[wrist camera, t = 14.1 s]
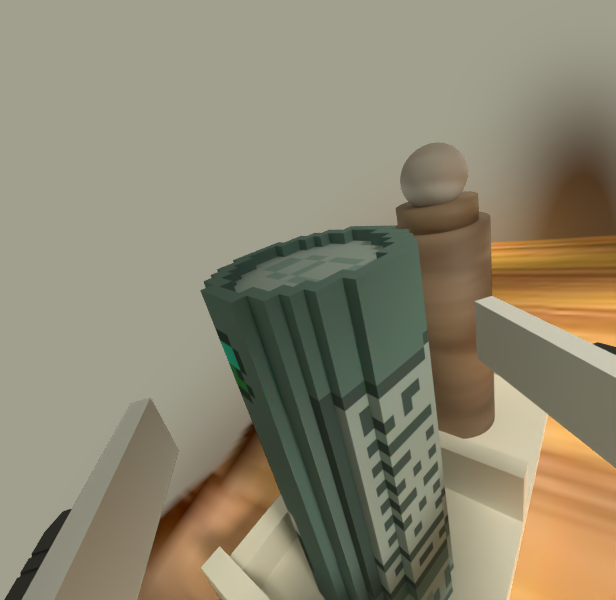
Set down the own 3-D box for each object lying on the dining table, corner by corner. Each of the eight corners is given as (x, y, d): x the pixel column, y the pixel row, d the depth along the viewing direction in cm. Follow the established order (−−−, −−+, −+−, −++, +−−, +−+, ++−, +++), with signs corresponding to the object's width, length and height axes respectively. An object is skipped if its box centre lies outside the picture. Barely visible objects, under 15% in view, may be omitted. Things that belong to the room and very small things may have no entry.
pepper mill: (430, 379, 25) (404, 148, 19) (502, 397, 22) (500, 125, 16) (402, 422, 22) (360, 161, 16) (483, 451, 19) (469, 135, 12)
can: (373, 473, 19) (316, 227, 14) (476, 552, 14) (455, 224, 9) (293, 556, 16) (178, 281, 10) (392, 691, 11) (278, 321, 6)
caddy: (417, 360, 30) (412, 322, 28) (553, 389, 23) (556, 341, 21) (230, 616, 15) (200, 567, 14) (447, 891, 9) (434, 853, 7)
